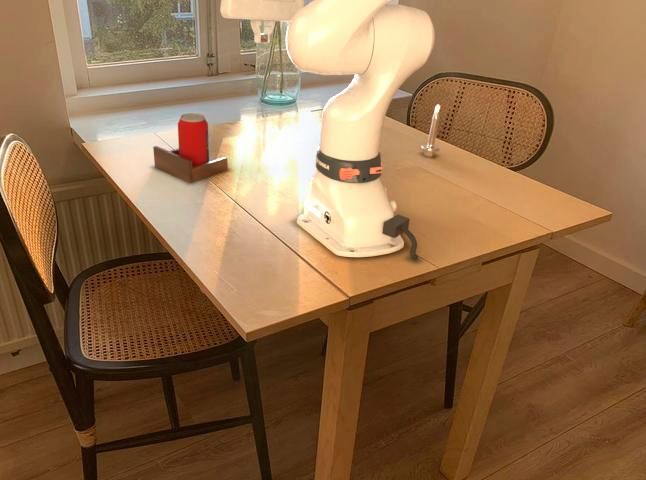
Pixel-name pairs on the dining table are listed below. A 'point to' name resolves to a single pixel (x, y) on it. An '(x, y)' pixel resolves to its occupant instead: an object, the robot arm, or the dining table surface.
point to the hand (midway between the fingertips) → (261, 42)
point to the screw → (432, 135)
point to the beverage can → (193, 138)
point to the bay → (186, 165)
